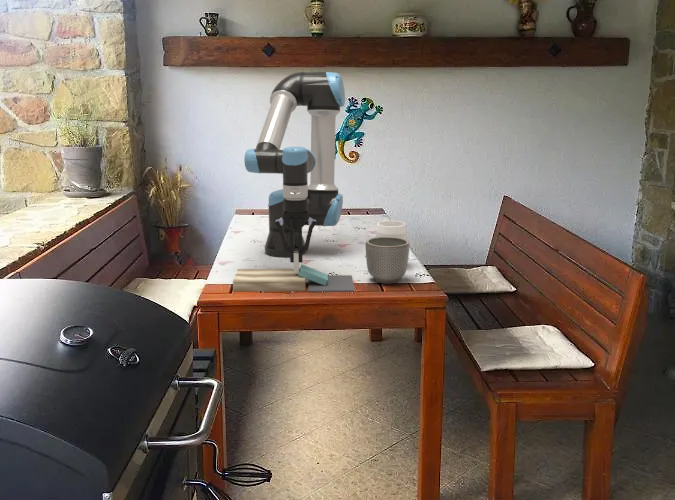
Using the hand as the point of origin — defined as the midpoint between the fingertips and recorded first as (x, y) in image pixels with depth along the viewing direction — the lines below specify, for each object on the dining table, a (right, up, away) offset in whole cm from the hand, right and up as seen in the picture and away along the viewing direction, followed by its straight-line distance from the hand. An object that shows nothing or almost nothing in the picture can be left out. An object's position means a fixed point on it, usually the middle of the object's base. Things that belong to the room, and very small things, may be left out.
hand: (296, 272), depth 225 cm
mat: (+11, -4, +1) cm, 11 cm away
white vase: (+31, +1, +21) cm, 38 cm away
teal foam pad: (+5, -2, 0) cm, 5 cm away
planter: (+29, -3, +5) cm, 29 cm away
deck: (-8, -4, +1) cm, 9 cm away
